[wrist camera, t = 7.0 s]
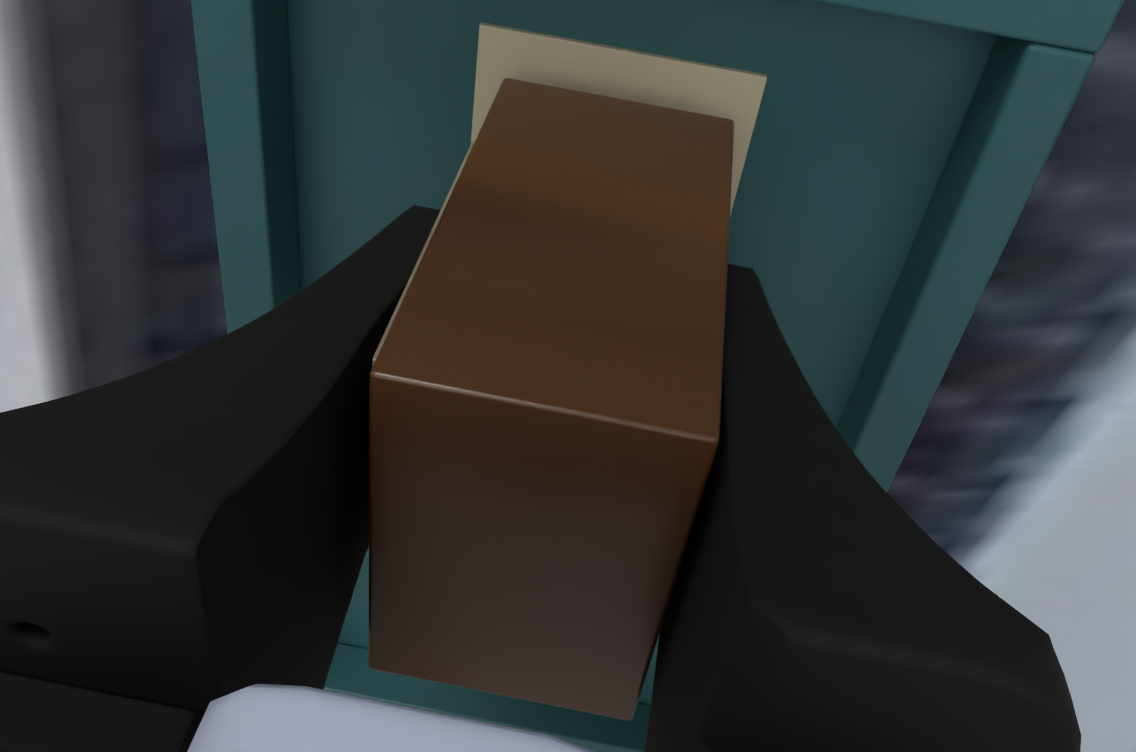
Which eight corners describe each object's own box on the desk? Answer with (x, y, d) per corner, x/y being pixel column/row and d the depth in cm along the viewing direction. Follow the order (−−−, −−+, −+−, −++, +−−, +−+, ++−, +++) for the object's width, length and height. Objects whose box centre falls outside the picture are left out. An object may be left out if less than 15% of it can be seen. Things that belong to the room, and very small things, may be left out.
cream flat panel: (611, 658, 22) (611, 662, 22) (436, 623, 22) (434, 626, 22) (767, 74, 14) (767, 77, 13) (480, 21, 14) (479, 24, 14)
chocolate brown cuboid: (669, 377, 16) (632, 723, 12) (466, 339, 16) (349, 667, 12) (735, 118, 13) (720, 441, 9) (488, 72, 13) (345, 368, 9)
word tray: (745, 724, 24) (744, 793, 23) (293, 633, 24) (266, 697, 23) (1095, -66, 12) (1134, -16, 11) (228, -220, 13) (167, -189, 11)
